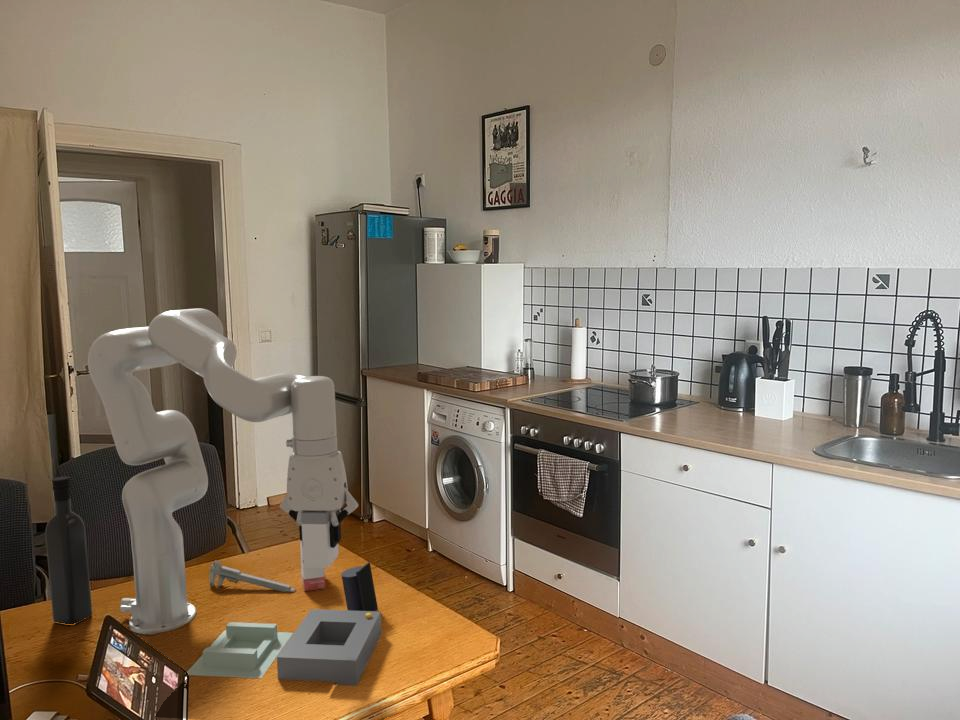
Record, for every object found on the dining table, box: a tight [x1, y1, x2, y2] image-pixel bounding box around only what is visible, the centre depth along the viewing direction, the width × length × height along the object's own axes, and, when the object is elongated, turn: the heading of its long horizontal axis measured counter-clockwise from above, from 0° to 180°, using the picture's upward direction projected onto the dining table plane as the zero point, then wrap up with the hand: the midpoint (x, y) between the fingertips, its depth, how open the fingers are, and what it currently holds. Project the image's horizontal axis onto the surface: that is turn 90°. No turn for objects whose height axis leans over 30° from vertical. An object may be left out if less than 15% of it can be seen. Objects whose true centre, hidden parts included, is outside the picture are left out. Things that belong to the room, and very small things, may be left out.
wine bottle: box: [44, 476, 93, 624], centre depth 150 cm, size 6×6×30 cm
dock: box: [276, 608, 382, 687], centre depth 136 cm, size 14×18×5 cm
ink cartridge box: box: [299, 540, 326, 592], centre depth 168 cm, size 9×5×15 cm, turn 17°
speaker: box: [340, 561, 379, 611], centre depth 154 cm, size 8×6×10 cm
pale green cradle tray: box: [187, 621, 294, 679], centre depth 137 cm, size 14×16×4 cm
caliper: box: [208, 559, 297, 593], centre depth 166 cm, size 20×1×6 cm, turn 80°
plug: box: [301, 511, 340, 569], centre depth 133 cm, size 4×6×10 cm
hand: (320, 543), depth 134 cm, fingers closed on plug, 4 cm apart
